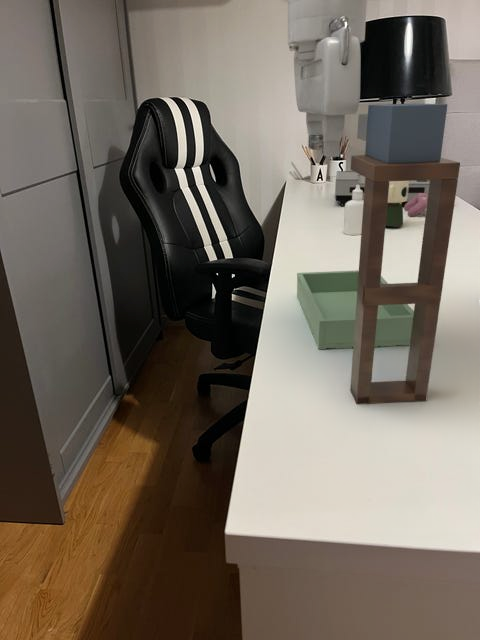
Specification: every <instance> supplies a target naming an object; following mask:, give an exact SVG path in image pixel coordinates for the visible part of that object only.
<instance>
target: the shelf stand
mask: <svg viewBox="0 0 480 640" xmlns="http://www.w3.org/2000/svg"><path fill="white" fill-rule="evenodd" d="M460 168H461V162H459V161H456V160H451V159H447V158H444V157H441V159H440V162H419V163H390V164H388V163H385V162H383V161H380V160H377V159H375V158H372V157H369V156H367V155H365V154H359V155H357V154H355V155H351V157H350V171H354V172H356V173H357V174H358V175H362V176H364V177H366V178H365V189H364V203H363V217H362V231H361V234H360V247H359V261H358V263H359V264H358V270H359V273H358V287H357V302H356V316H355V330H354V344H353V348H352V359H351V373H350V388H349V391H350V393H351V395H352V397H353V399H354V401H355V404H356V405H364V404H365V405H366V404H367V405H368V404H386V403H405V402H404V401H410V402H427V398H428V390H429V383H430V376H431V370H432V363H433V362H432V361H433V355H434V349H435V348H434V347H435V341H436V334H437V329H438V321H439V314H440V306H441V300H442V294H443V288H444V279H445V271H446V265H447V257H448V252H449V245H450V238H451V230H452V224H453V216H454V210H455V203H456V195H457V188H458V183H459V180H458V179H459V175H460ZM417 180H430V184H429V192H428V200H427V208H426V209H425V218H424V225H423V234H422V241H421V248H420V249H421V250H420V258H419V266H418V275H417V282H401V283H400V282H398V283H396V282H395V283H388V284H380V281H381V276H382V269H383V260H384V259H383V258H384V247H385V236H386V235H385V234H386V226H387V225H386V214H387V203H388V192H389V181H417ZM397 304H408V305H414V307H413V311H414V315H413V323H412V331H411V339H410V345H409V349H408V357H407V364H406V372H405V373H406V374H405V380H388V381H384V380H383V381H372V380H373V367H374V358H375V357H374V356H375V348H376V347H375V336H376V325H377V314H378V305H397ZM424 400H425V401H424ZM401 401H402V402H401Z"/></svg>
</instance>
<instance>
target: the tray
mask: <svg viewBox="0 0 480 640" xmlns="http://www.w3.org/2000/svg"><path fill="white" fill-rule="evenodd" d="M358 273H359V269H357V270H337V271H336V270H334V271H332V270H331V271H311V272H306V271H305V272H297V273H296V297H297V299H298V302H299V305H300V307H301V310H302V312H303V315H304V317H305V320H306V322H307V324H308V326H309V330H310V332H311V334H312V337H313V339H314V342H315V344H316V347H317V349H318V350H327V349H326V348H336V349H353V348H352V347H353V344H354V330H355V316H356V302H357V287H358ZM380 284H389V283H388V281H386V280H385V278H384V277H383V276H382V275H381V281H380ZM413 315H414V309H412V307H411V306H410V304H397V305H378V314H377V325H376V336H375V347H374V348H377V347H378V346H381V347H397V346H396V345H404V346H410V339H411V331H412V323H413Z"/></svg>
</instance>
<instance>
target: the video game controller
mask: <svg viewBox="0 0 480 640" xmlns="http://www.w3.org/2000/svg"><path fill="white" fill-rule="evenodd" d="M427 200H428V195H427V194H425V193H419V194H418V195H416V196H415V197H414V198H413V199H412V200H410V201H409V202H408V203H406V204H405V206H404V207H403V209H404V211H406V212H407V216H408V217H411V218H412V217H416V216H420V215H421V214H422V213H423V212H424V211H426V208H427Z"/></svg>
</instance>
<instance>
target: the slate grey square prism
mask: <svg viewBox="0 0 480 640" xmlns="http://www.w3.org/2000/svg"><path fill="white" fill-rule="evenodd" d="M447 112H448V104H447V103H391V104H388V103H385V104H368V109H367V113H358V115H357V116H358V119H357V134H356V139H357V140H361V141H365V150H364V155H367V156H369V157H372V158H375V159H377V160H380V161H383V162H385V163H388V164H390V163H419V162H440V159H441V158H442V150H443V142H444V135H445V127H446V126H445V125H446V119H447Z"/></svg>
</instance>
